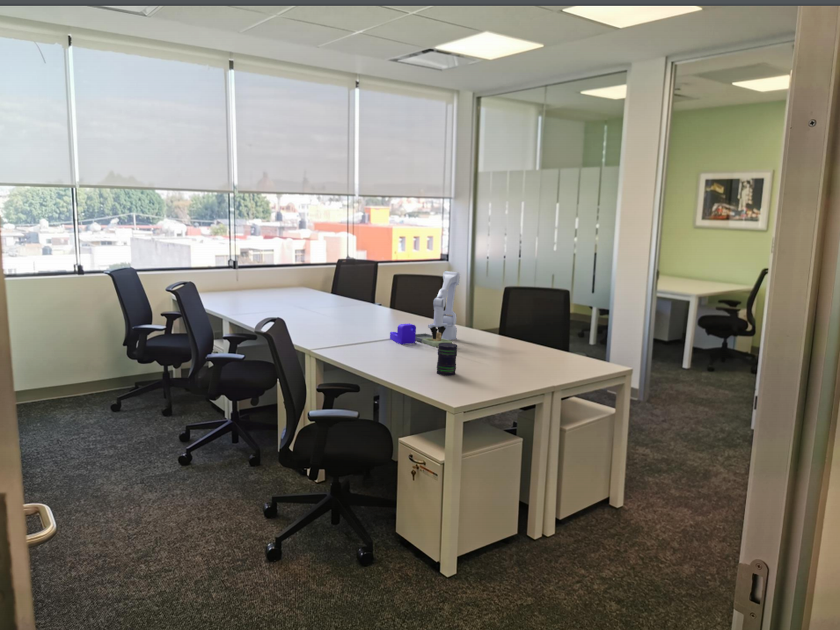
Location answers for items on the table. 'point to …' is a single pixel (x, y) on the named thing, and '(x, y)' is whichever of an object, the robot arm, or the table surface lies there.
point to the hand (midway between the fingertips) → (437, 338)
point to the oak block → (437, 337)
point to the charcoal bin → (422, 337)
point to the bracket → (404, 334)
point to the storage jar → (446, 359)
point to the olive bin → (434, 342)
